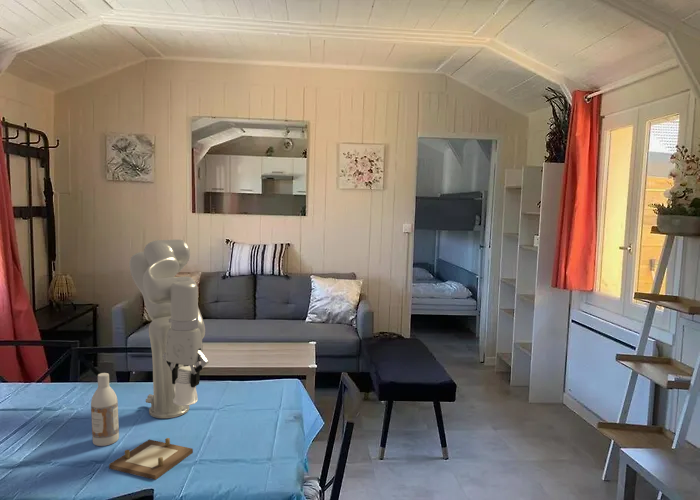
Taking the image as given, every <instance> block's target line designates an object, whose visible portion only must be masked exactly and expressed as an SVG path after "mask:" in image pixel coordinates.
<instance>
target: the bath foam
mask: <svg viewBox="0 0 700 500" xmlns="http://www.w3.org/2000/svg"><path fill="white" fill-rule="evenodd" d="M90 400H91V401H90V410H91V412H90V415H91V435H92V443H93V445H94V446H97V447H105V446H110V445H113V444H114V443H116V442H118V441H119V438H120V431H119V430H120V427H119V402H118V396H117V394H116V392H115V390H114V389H113V388H112V387H111V386H110V374H109V373H107V372H101V373H98V374H97V389H96V390H95V392H94V393H93V395H92V397H91V399H90Z"/></svg>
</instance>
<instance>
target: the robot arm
mask: <svg viewBox="0 0 700 500" xmlns="http://www.w3.org/2000/svg"><path fill="white" fill-rule="evenodd" d="M190 256H191V252H190V247H189V245H188V243H187V242H186V241H185V240H183V239H160V240H159V239H157V240H152V241H150V242H148V243H147V244H146V245H145V247H144V249H143V251H139V252H137V253H135V254H133V255H132V256H131V257H130V259H129V271H130V272H129V273H130V276H131V278H132V281H133V284H135V286H136V287H137V288H138V290H139V291H140V293H141V295H142V298H143V302H144V305H145V308H146V312H147V315H148V317H149V319H150V320H151V322H150V323H149V324H148V325H149V326H148V336H149V342H150V347H151V348H150V349H151V356H152V357H151V358H152V383H153V387H152V388H153V389H152V390H153V394H151V393H150V394H148V395H147V396H146V397H147V398H145V403H147V404H151V406H150V407H149V409H148V414H149V416H151V417H152V418H155V419H171V418H172V419H173V418H176V417H181V416H183V415H185V414H187V413H188V412H189V411H190V405H187V406H180V405H176V404H174V403H173V399H174V398H175V391H174V384H175V380H176V379H177V378H178V368H180V367H184V366H190V367H191V370H192V374H191V387H195V386H196V387H197V386H199V385H200V377H201V376H200V372H202V370H203V369H204V368H205V367H206V366H207V365H208V364H209V362H210V361H208V359H207V357H206V356H205V354H204V349H203V346H204V345H203V339H204V338H205V335H206V325H205V322H204V319H203V316H202V313H201V310H200V308H199V290H198V284H197V283H196V281H195V279H194V278H193V277H191V276H177V274H179V272H181V271H182V270H183V269H184V267H186V265H187V264H188V262H189V261H190Z"/></svg>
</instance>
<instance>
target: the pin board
mask: <svg viewBox="0 0 700 500" xmlns="http://www.w3.org/2000/svg"><path fill="white" fill-rule="evenodd" d="M164 441H165V442H164ZM164 441H160V440H154V439H151V438H150V439H147V440H146V441H144V442H143V443H140V445H137V446H135V448H133V449H131V450H130V449H125V450H124V454H123V455H121V456H120V457H118V458H116V459H115V460H113V461H112V462H110V463H109V464H108V468H109V469H110V470H114V471H117V472H121V473H126V474H129V475H134V476H139V477H142V478H147V479H151V480H155V481H156V480H157V479H159V478H160V477H162V476H164V474H166V473H167V472H168V471H170V470H171V469H173V468H174V467H175V466H177V465H178V464H179V463H182V461H184V460H185V459H186V458H188V457H189V456H191V455H192V454H193V453H194V452H193V451H194V449H193V448H191V447H187V446H183V445H177V444H173V443H171V438H169V437H166V438H165V439H164Z"/></svg>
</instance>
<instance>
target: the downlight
mask: <svg viewBox="0 0 700 500" xmlns="http://www.w3.org/2000/svg"><path fill="white" fill-rule="evenodd" d="M191 374H192V370H191V367H190V366H188V365H184V367H180V368H178V378H177V379H176V380H175V384H174V391H175V398H174V399H173V403H174V404H176V405H180V406H187V405H189V406H191V405H194V404H196V403H197V402H198V392H197V386H195V387H191Z"/></svg>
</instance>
